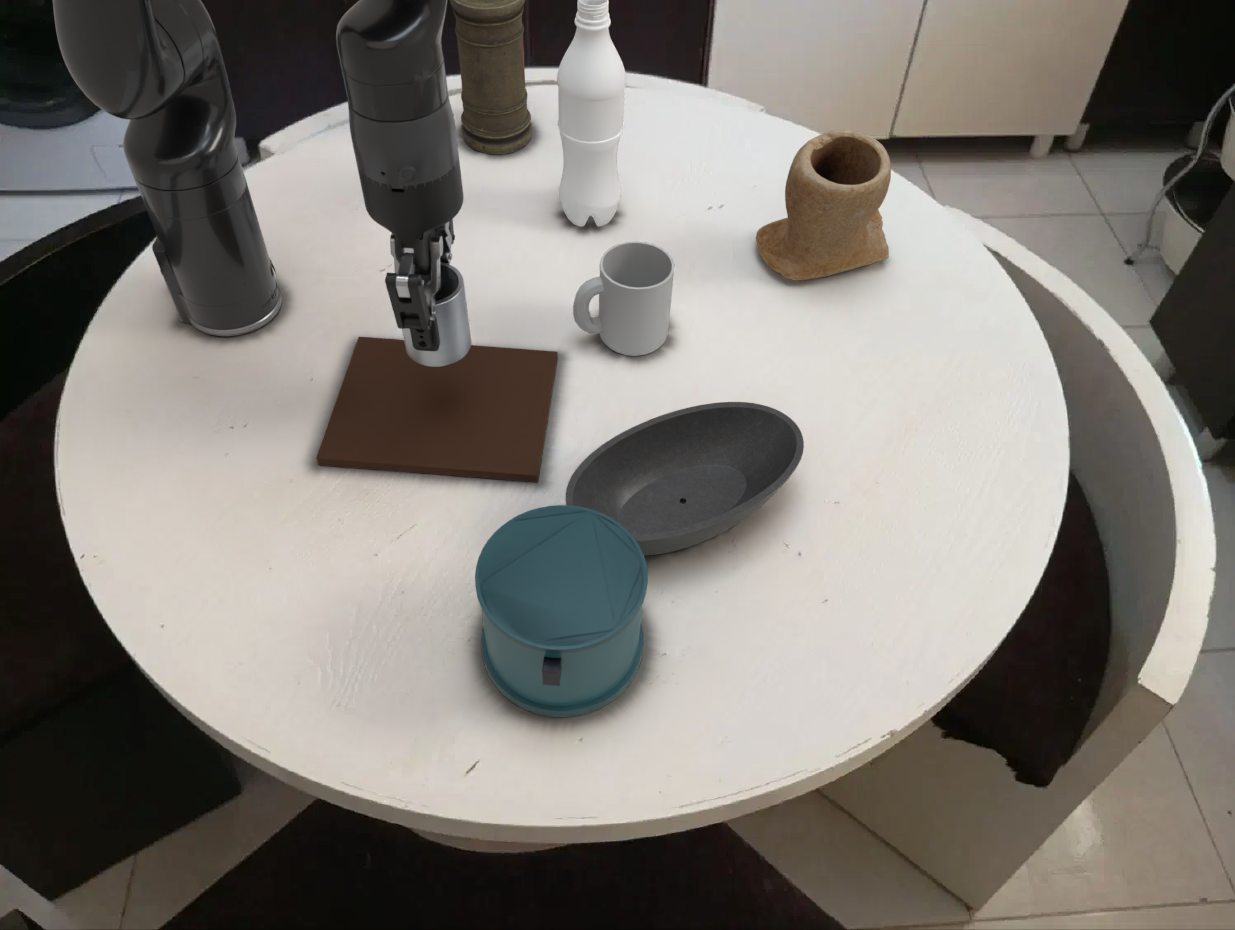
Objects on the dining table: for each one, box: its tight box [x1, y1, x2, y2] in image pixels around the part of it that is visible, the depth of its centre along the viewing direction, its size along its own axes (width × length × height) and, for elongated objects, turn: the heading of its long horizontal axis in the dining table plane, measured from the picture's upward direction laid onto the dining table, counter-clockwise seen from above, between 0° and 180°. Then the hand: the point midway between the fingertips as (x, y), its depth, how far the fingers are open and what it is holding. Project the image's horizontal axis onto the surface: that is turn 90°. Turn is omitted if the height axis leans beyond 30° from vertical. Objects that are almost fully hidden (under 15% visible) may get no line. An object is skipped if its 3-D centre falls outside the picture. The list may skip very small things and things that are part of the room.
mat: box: [315, 336, 559, 483], centre depth 94 cm, size 20×16×1 cm
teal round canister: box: [474, 504, 649, 718], centre depth 75 cm, size 13×14×10 cm
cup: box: [572, 240, 675, 357], centre depth 98 cm, size 7×10×9 cm
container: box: [449, 0, 533, 155], centre depth 118 cm, size 9×9×18 cm
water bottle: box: [556, 0, 627, 228], centre depth 105 cm, size 7×7×25 cm
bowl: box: [564, 401, 805, 556], centre depth 85 cm, size 12×22×6 cm, turn 119°
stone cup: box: [755, 129, 892, 281], centre depth 105 cm, size 15×12×15 cm
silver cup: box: [401, 262, 472, 367], centre depth 86 cm, size 6×6×7 cm
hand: (434, 322), depth 86 cm, fingers closed on silver cup, 6 cm apart
